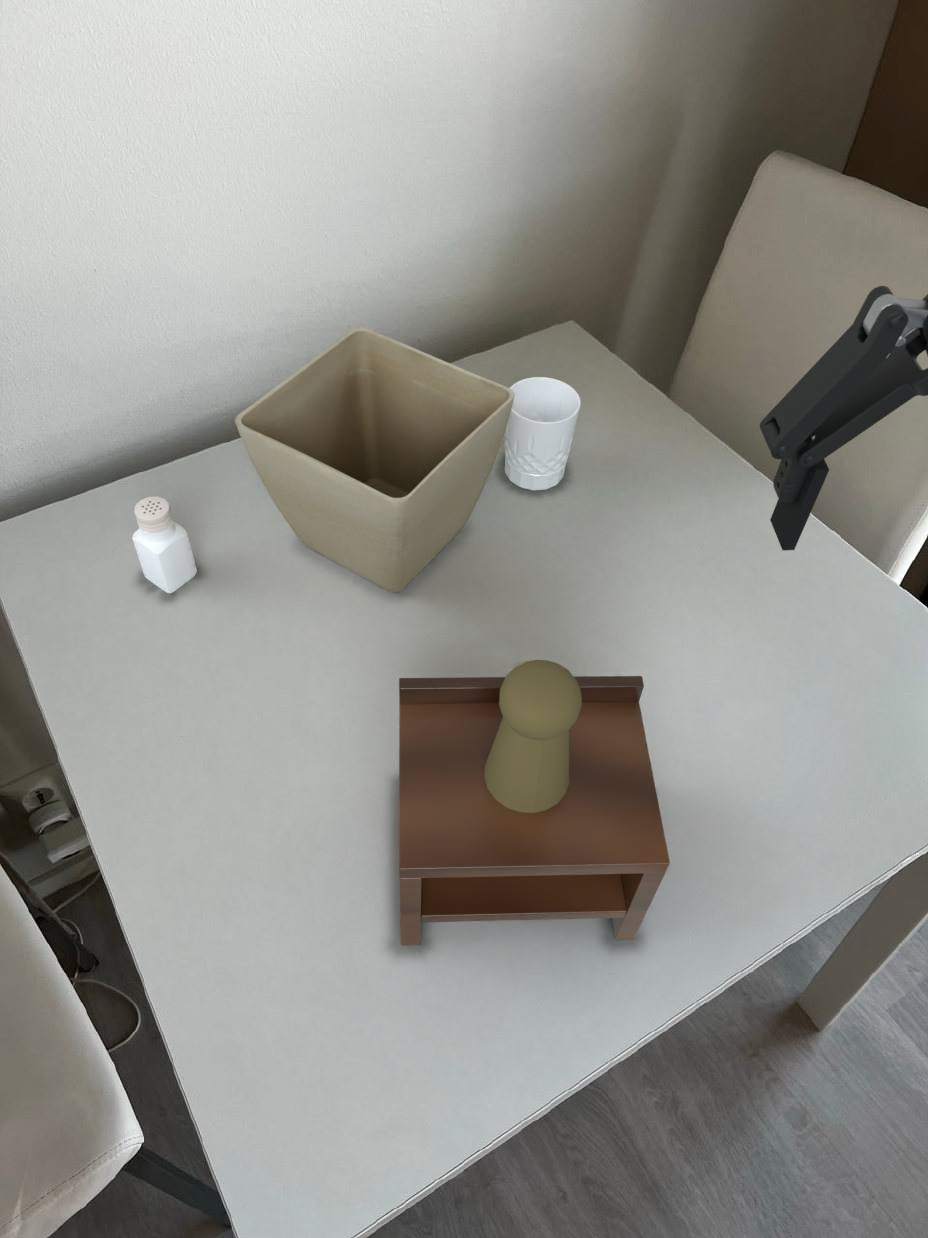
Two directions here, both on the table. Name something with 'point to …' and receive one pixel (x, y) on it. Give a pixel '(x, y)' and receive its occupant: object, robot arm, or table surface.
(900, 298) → the robot arm
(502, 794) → the olive pawn
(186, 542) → the salt shaker
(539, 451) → the white cup
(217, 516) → the table surface
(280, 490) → the flower pot
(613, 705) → the miniature wooden nightstand
